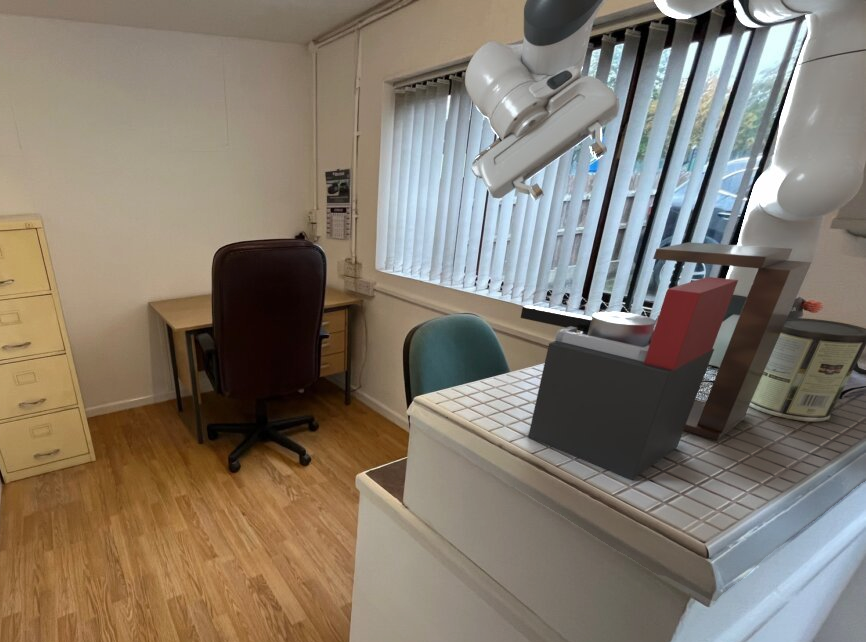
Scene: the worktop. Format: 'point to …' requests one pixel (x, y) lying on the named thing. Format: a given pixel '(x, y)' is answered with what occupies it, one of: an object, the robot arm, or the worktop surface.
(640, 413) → the coffee maker
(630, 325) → the filter holder
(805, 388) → the coffee can
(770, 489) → the worktop surface
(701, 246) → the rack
